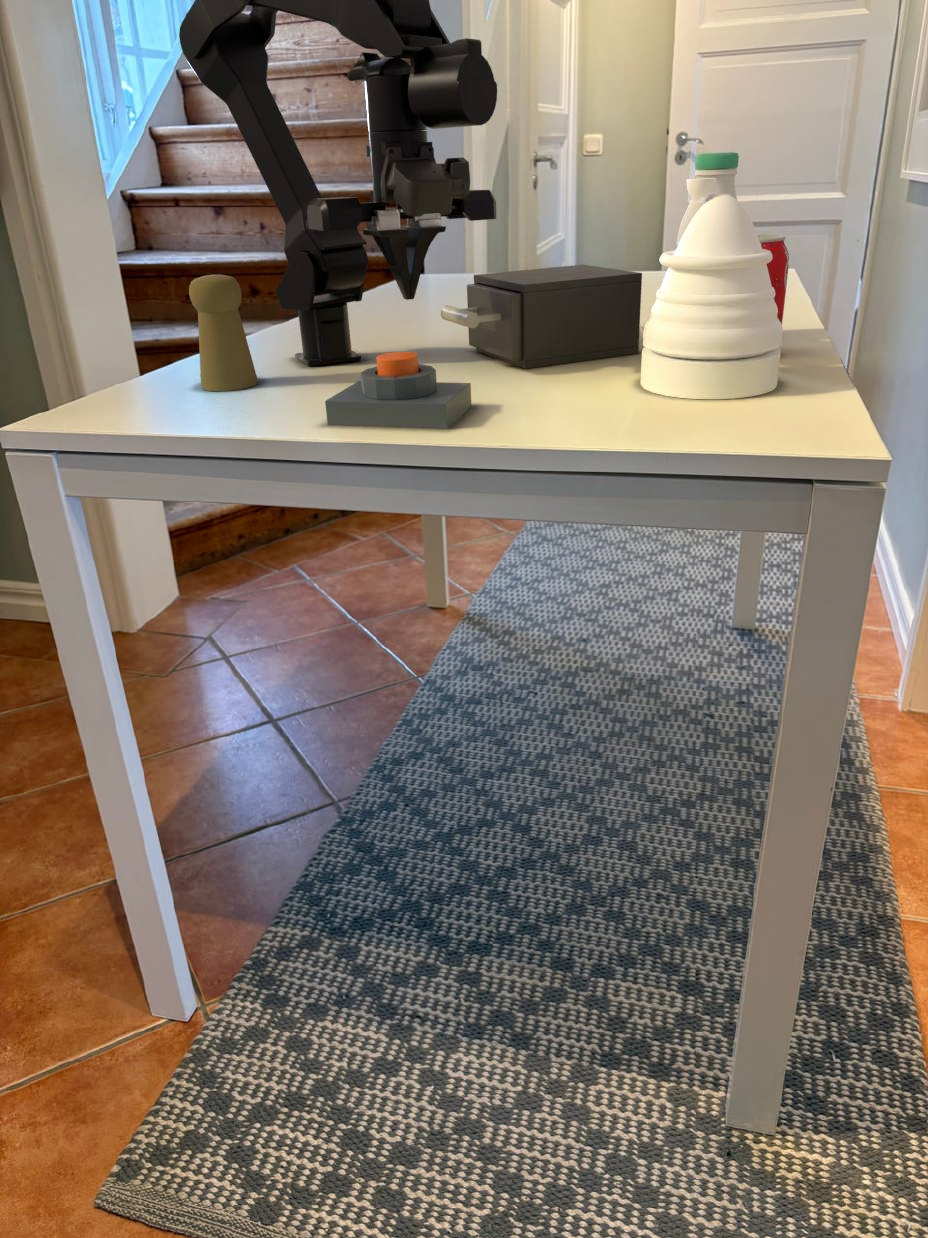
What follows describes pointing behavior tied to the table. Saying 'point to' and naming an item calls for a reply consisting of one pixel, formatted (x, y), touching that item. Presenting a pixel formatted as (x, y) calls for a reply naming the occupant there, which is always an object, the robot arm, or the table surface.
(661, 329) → the honey pot
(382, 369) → the button
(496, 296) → the drawer
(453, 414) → the control block
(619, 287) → the cabinet
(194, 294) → the cork
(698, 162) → the milk bottle
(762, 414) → the table surface
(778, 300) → the soda can
